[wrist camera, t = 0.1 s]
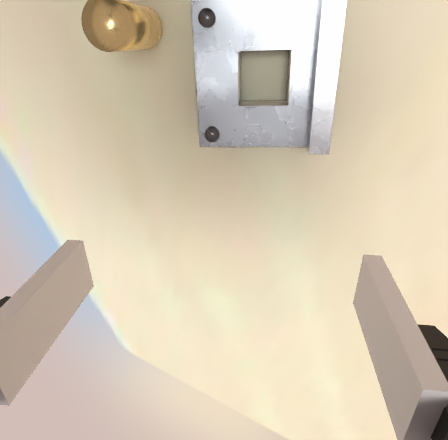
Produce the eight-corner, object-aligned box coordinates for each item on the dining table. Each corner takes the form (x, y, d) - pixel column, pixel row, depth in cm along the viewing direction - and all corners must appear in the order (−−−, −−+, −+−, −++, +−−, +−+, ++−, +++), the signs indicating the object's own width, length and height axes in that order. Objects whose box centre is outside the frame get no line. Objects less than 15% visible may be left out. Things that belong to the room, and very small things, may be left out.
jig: (197, 3, 35) (185, -3, 30) (337, -3, 34) (350, -11, 28) (205, 138, 42) (195, 153, 36) (322, 138, 40) (330, 154, 35)
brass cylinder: (123, 6, 36) (76, -4, 27) (159, 5, 36) (124, -6, 27) (129, 49, 38) (87, 52, 29) (164, 48, 37) (132, 51, 29)
